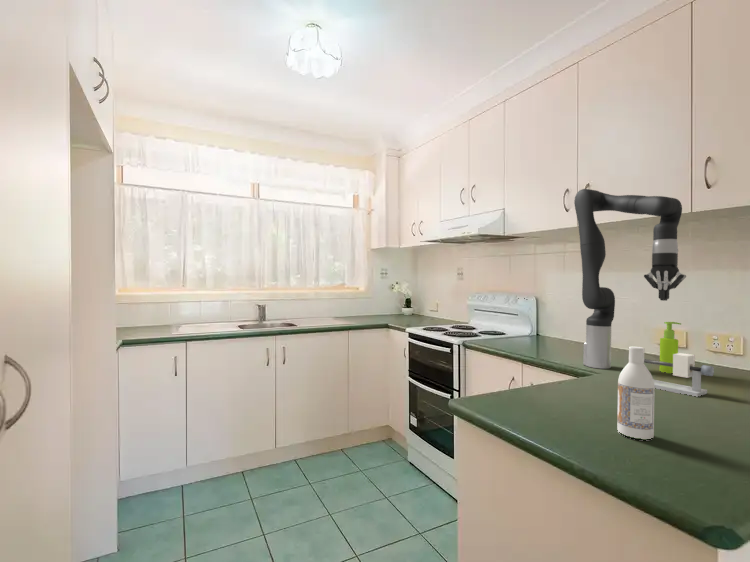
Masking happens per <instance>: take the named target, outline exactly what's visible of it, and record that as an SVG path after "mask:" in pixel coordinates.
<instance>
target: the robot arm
mask: <svg viewBox="0 0 750 562" xmlns="http://www.w3.org/2000/svg"><path fill="white" fill-rule="evenodd" d="M574 196H575V197H574V202H573V203H574V209H575V214H576V219H577V225H578V233H579V235H578V236H579V246H580V258H581V271H582V282H581V283H582V288H581V289H582V290H581V293H582V294H581V296H582V302H583V303H582V304H584V306H585V307H586V308H587V309H590V310H593V313H592V314H591V315H590V316H588V317H587V318H586V321H585V322H586V325H585V327H586V328H585V331H586V332H585V334H586V335H585V342H584V343H583V361H582V362H583V363H582V364H583V366H586V367H589V368H594V369H604V370H605V369H611V367H612V365H611V364H612V322H613V320H614V318H615V309H616V308H615V307H616V295H615V293H614V291H613V290H612V289H610V288H609V287H607V286H606V287H603V286H600V271H601V269H602V266H603V264H604V263H605V260H606V255H607V254H606V252H607V251H606V243H605V238H604V236H603V233H602V231H601V230H600V228H599V226H598V225H597V222H596V219H595V215H594V213H595V212H604V211H607V212H608V211H611V212H612V211H613V212H620V213H623V214H624V213H625V214H634V215H648V216H654V217H660V219H659V223H657V224H656V225H654V226H653V234H652V235H653V236H652V240H653V241H652V246H651V253H652V254H651V269H650V271H649V272H648V273H647V274H643V278H644V279H645V280H646V281H647V282H648V283H649V285H650V286H651V287H652V288H654V289H657V290H658V298H659V300H660V301H661V302H662V301H664V302H665V301H668V300H669V299H670V290H672V289H673V290H674V289H676V288H677V287H678V286H679V285H680V284H681V283H682V282H683V281H684V280H685V279H686V278H687V275H686V274H683V273H682V272H680V269H679V267H678V261H679V258H678V257H679V245H678V227H679V224H680V221H681V217H682V213H683V205H682V202H681V201H680V200H679V199H677V198H676V197H668V196H663V195H661V196H660V195H658V196H657V195H653V196H652V195H651V196H648V195H639V194H638V195H637V194H636V195H635V194H626V195H625V194H623V195H615V194H610V193H606V192H605V193H604V192H601V191H599V190H595V189H590V188H589V189H588V188H582V189H579V190H578V191H577V193H576V194H575V195H574ZM655 279H656V281H655ZM674 279H675V280H674ZM672 280H673V281H672Z"/></svg>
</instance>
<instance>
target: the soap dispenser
mask: <svg viewBox="0 0 750 562" xmlns="http://www.w3.org/2000/svg"><path fill="white" fill-rule="evenodd" d="M664 324H666V329H664V330H663V337H661V338H659V361H661V362H667V363H673V354H677V353H679V340H678V339H676V338H675V330H674V329H673V325H682V323H681V322H675V321H664ZM660 371H661V373H664V372H666V373H665V374H671V373H673V367H670V366H663V365H659V372H660Z"/></svg>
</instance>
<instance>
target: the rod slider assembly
mask: <svg viewBox="0 0 750 562" xmlns="http://www.w3.org/2000/svg"><path fill="white" fill-rule="evenodd" d="M645 363H646V364H653V365H656V366H657V365H658V366H660V365H663V366H670V367H673V363H667V362H661V361H660V360H653V359H647V358H644V364H645ZM690 370H693V371H692V377H691V379H692V380H691V386H690V385H683V384H679V383H678V384H677V383H673V382H667V381H663V380H657V379H653V380H654V386H655V388H656V389H655V390H660V389H661V390H662V391H665V390H666V392H670V393H676V394H680V393H681V394H680V395H684V394H687V395H686V396H689V395H692V396H691V397H694V396H696V397H695V398H699V397H702V396H704V395H707V394H708V389H705V388H702V387H701V386H702V376H703V375H704V376H709V377H713V376H714V374H715V368H714V366H712V365H704V364H702V365H701V366H700V367H699V366H695V367H693V366H690ZM661 390H660V391H661ZM701 395H702V396H701ZM698 396H699V397H698Z"/></svg>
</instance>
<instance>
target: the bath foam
mask: <svg viewBox="0 0 750 562" xmlns="http://www.w3.org/2000/svg"><path fill="white" fill-rule="evenodd" d="M644 359H645V348H644V347H642V346H635V345H633V346H632V345H631V346H629V347H628V363H626V365H625V366H624V367H623V369H622V370H621V372H620V373H619V375H618V380H617V414H616V415H617V418H616V419H617V425H616V426H617V427H616V429H617V430H618V431H617V433H619V432H620V433H622V434H624V435H626V436H630V437H634V438H641V439H651V438H653V439H654V436H655V390H656V389H655V386H654V380H655V379H654V377H653V375H652V373H651V372H650V370H649V369H648V367H647V366H646V365H645V362H644ZM620 433H619V434H620ZM651 440H652V439H651Z"/></svg>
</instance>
